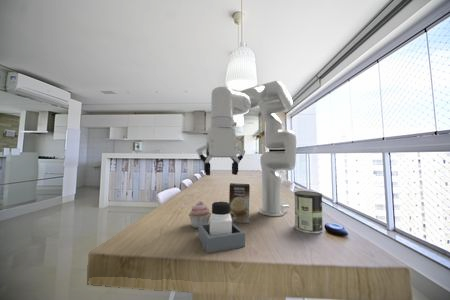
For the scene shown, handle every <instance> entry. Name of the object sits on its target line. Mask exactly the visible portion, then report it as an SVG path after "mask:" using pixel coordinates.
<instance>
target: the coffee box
mask: <svg viewBox="0 0 450 300" xmlns="http://www.w3.org/2000/svg"><path fill="white" fill-rule="evenodd" d="M250 188H251V187H250V183H235V182H233V183H229V189H228V190H229V192H228V194H229V195H228V196H229V197H228V203H229V204H230V215H231V218H232V223H238V224H239V223H240V224H241V223H242V224H249V223H250V192H251V191H250Z"/></svg>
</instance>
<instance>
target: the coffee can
mask: <svg viewBox="0 0 450 300" xmlns="http://www.w3.org/2000/svg"><path fill="white" fill-rule="evenodd" d="M293 194H294V228H295V229H296V231H297V230H298V231H300V232H302V233H306V234H316V235H317V234H321V233H323V232H324V230H323V229H324V228H323V227H324V226H323V225H324V224H323V194H322V193H320V192H318V191H317V192H316V191H306V190H297V191H293Z"/></svg>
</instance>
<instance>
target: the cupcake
mask: <svg viewBox="0 0 450 300" xmlns="http://www.w3.org/2000/svg"><path fill="white" fill-rule="evenodd" d="M211 214H212V212H210V209H209V207H207V204H206V203H205V202H204V201H201V200H200V201H199V202H197V203H196V204H195V205H193V206H192V207H191V211H190V212H189V214H188V217H189V219H190V222H191V227H192V228H195V229H198V227H199V225H200V224H208V223H210V215H211Z"/></svg>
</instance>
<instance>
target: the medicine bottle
mask: <svg viewBox="0 0 450 300" xmlns="http://www.w3.org/2000/svg"><path fill="white" fill-rule="evenodd" d="M209 223H210V237H211V236H218V235H225V234H232V223H233V222H232V218H231V215H230V204H229V201H228V202H227V201H224V200H222V201H221V200H220V201H219V200H217V201H214V202H213V203H212V204H211V215H210V218H209Z"/></svg>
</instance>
